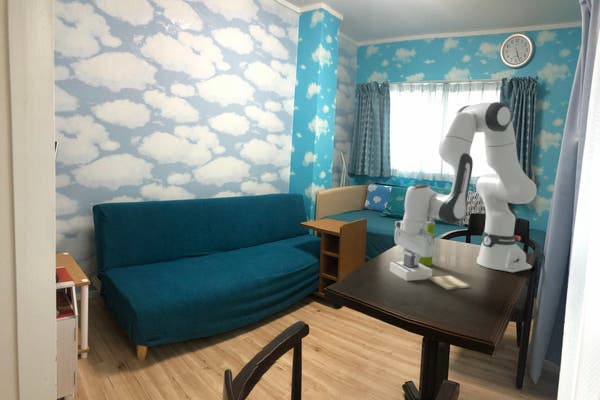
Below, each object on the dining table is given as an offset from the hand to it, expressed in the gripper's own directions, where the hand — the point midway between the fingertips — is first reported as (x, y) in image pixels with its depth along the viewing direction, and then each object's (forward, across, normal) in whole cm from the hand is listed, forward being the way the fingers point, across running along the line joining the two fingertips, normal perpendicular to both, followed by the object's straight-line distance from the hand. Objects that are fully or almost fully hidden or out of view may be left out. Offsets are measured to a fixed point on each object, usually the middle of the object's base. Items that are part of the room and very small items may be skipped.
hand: (411, 261), depth 146 cm
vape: (+5, +11, -15) cm, 19 cm away
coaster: (+5, -11, -9) cm, 15 cm away
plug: (+5, 0, 0) cm, 5 cm away
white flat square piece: (+5, 0, 0) cm, 5 cm away
